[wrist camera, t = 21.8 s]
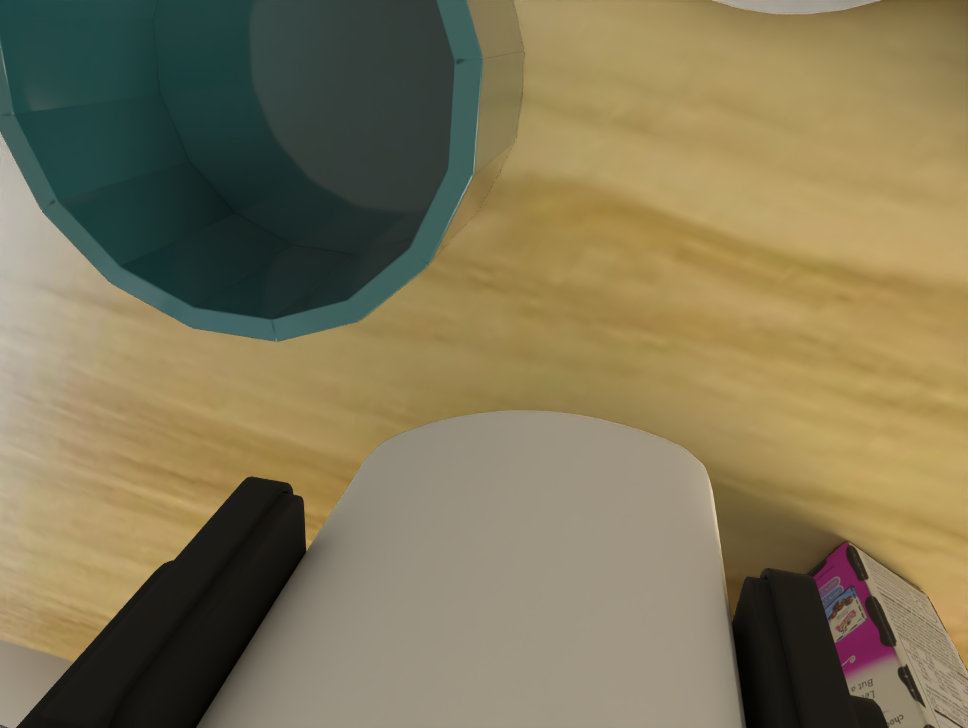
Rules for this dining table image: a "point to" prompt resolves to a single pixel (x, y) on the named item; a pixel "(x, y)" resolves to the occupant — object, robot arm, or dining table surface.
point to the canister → (260, 144)
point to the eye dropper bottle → (503, 589)
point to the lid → (794, 5)
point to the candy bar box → (892, 642)
